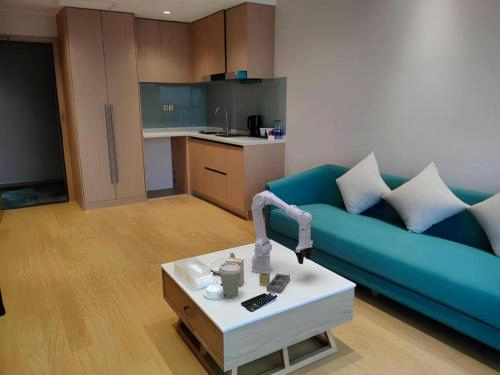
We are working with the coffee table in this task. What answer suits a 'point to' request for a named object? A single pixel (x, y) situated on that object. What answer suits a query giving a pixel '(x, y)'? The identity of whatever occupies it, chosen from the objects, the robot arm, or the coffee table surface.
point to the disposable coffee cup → (230, 278)
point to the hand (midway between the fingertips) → (304, 261)
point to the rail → (278, 283)
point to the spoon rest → (221, 261)
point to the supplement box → (241, 264)
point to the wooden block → (264, 279)
